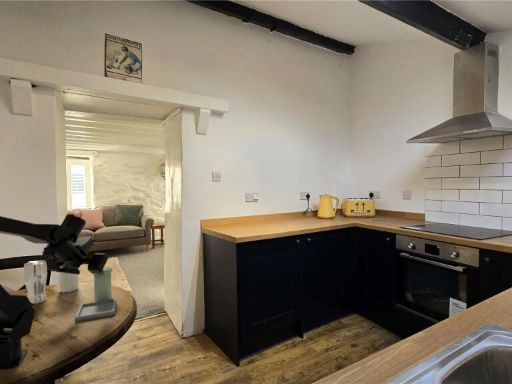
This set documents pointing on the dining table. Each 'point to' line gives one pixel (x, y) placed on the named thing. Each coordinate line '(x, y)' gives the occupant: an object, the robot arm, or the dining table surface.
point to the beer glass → (35, 280)
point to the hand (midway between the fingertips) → (91, 273)
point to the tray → (96, 310)
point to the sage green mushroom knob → (103, 285)
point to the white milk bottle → (67, 282)
